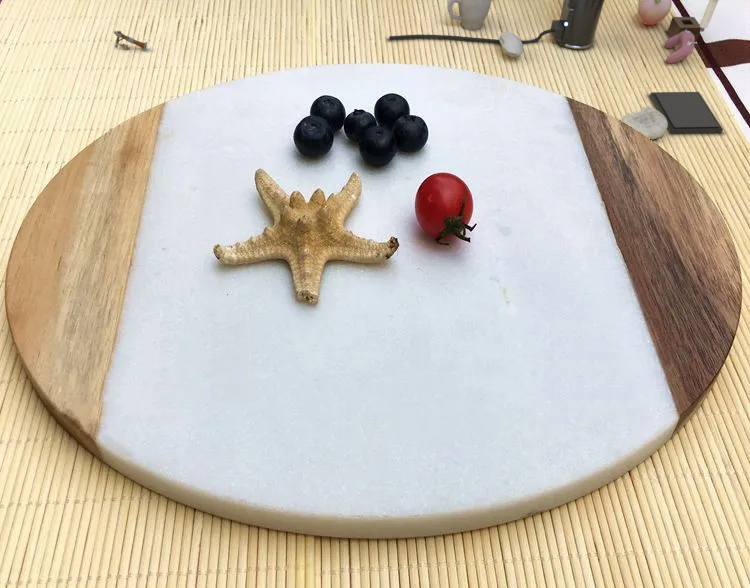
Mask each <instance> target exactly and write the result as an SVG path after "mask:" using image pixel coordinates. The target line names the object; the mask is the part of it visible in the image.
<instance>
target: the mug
mask: <svg viewBox="0 0 750 588" xmlns="http://www.w3.org/2000/svg"><path fill="white" fill-rule="evenodd" d="M454 4H458V13H459V15H456V14H455V13H454V7H453V6H454ZM491 5H492V0H448V1H447V7H446V9H447V12H448V15H449V17H450V18H451V19H452V20H455V21H461V26H462V28H464V29H466V30H469V31H477V30H479V29H481V28H482V25H483V23H484V22H485V20H486V18H487V16H488V14H489V11H490V8H491Z"/></svg>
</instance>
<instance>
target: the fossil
mask: <svg viewBox="0 0 750 588" xmlns="http://www.w3.org/2000/svg"><path fill="white" fill-rule="evenodd" d="M621 121H623V122H625V123H626V124H628V125H630V126H631V127H633V128H634V129H636V130H638V131H639V132H641V133H642V134H644V135H645V136H647V137H648V138H650V139H651V140H650V141H652V140H656V139H659V138H661V137H663V136H664V135H665V133H666V132H667V131H668V128H667V126H668V123H667V120H666V118H665V116H664V115H663V114H662V113H660V112H659V111H658V110H657V108H654V107H653V106H649V105H648V106H645V107H642V108H641V110H639V111H637V112H636V111H635V112H631V113H630V112H628V113H626V114H625V115H623V117H622V118H621V120H620V122H621Z"/></svg>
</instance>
